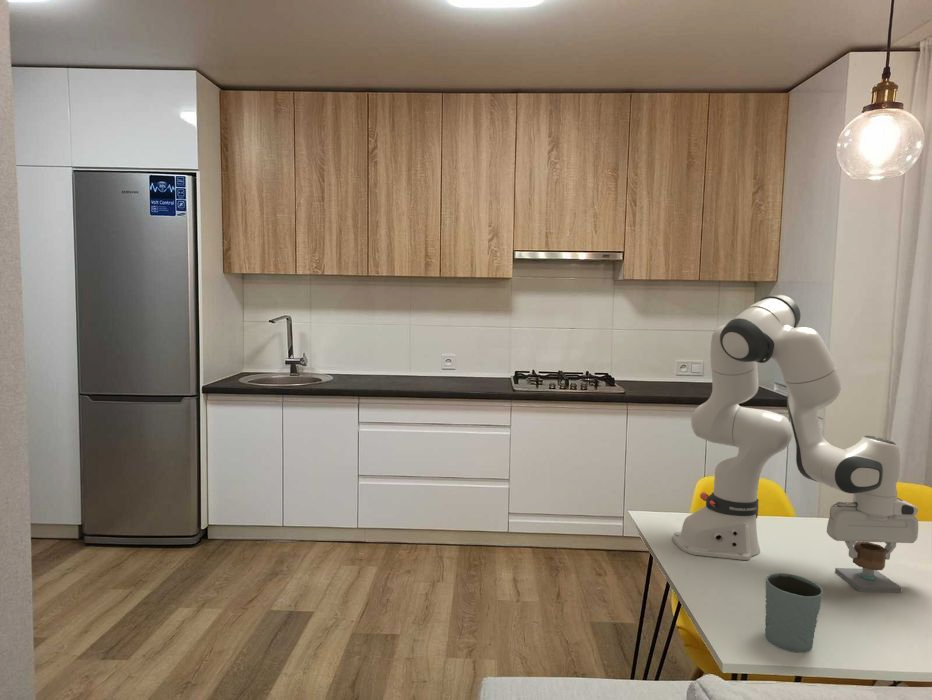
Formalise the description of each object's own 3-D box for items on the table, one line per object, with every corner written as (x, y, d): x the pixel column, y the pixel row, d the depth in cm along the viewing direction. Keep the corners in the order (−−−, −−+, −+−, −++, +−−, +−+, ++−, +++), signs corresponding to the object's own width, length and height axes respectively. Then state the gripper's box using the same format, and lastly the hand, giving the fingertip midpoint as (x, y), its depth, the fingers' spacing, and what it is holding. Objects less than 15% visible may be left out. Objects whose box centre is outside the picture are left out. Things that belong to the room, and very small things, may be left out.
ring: (863, 569, 152) (865, 551, 151) (848, 558, 158) (849, 541, 158) (889, 570, 152) (891, 552, 151) (873, 559, 158) (874, 542, 157)
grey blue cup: (753, 626, 133) (757, 571, 132) (802, 628, 132) (807, 573, 131) (775, 654, 123) (780, 594, 122) (828, 656, 122) (833, 597, 121)
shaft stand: (859, 591, 150) (861, 562, 150) (834, 572, 160) (837, 545, 160) (901, 592, 150) (904, 563, 150) (874, 573, 160) (877, 546, 160)
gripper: (838, 506, 150) (833, 562, 152) (925, 508, 150) (919, 565, 152) (823, 497, 157) (819, 551, 158) (906, 500, 157) (901, 554, 158)
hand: (869, 558), depth 155 cm, fingers closed on ring, 6 cm apart
